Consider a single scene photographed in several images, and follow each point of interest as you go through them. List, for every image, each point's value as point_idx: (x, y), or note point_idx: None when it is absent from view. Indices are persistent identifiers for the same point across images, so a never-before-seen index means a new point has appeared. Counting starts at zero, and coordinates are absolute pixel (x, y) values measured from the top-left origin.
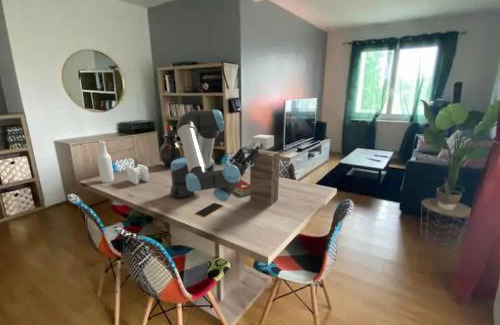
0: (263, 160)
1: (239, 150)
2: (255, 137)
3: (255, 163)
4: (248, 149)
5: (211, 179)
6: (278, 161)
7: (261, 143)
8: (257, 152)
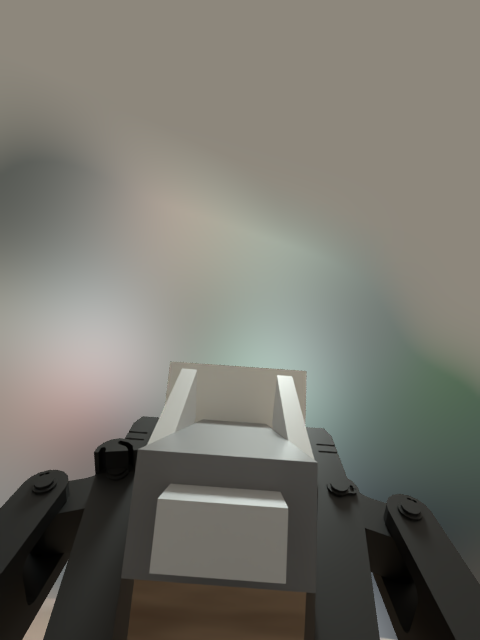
0: (250, 589)
1: (26, 510)
2: (198, 367)
3: (161, 630)
4: (290, 475)
5: None
6: None
7: (253, 419)
8: (442, 533)
